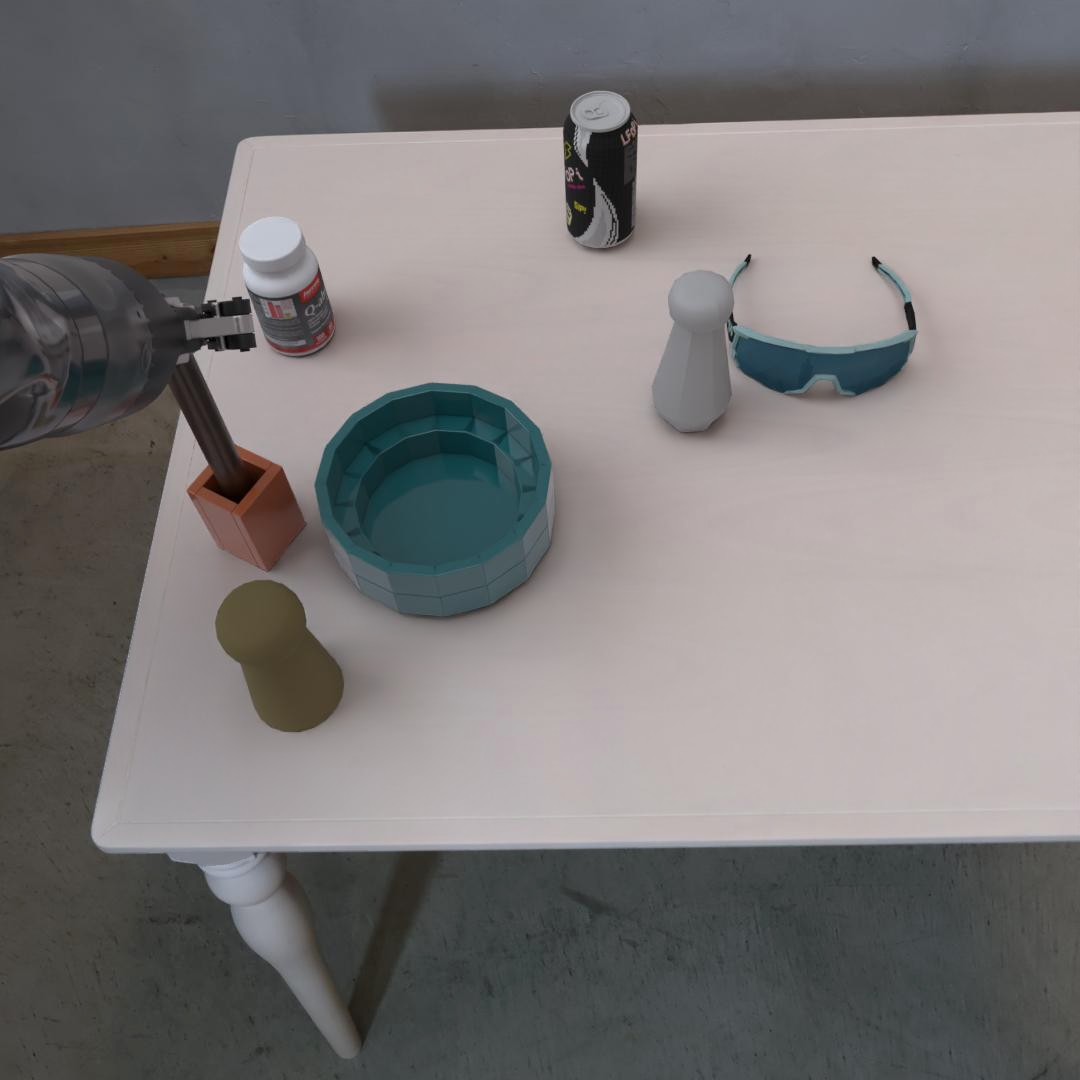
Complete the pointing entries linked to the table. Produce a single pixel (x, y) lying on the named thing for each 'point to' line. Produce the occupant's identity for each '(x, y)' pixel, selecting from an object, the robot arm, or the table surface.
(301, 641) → the cork
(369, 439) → the bowl
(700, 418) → the salt shaker
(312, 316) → the pill bottle
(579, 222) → the beverage can
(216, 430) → the stick
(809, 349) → the sunglasses
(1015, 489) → the table surface
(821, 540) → the table surface
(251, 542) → the holder
